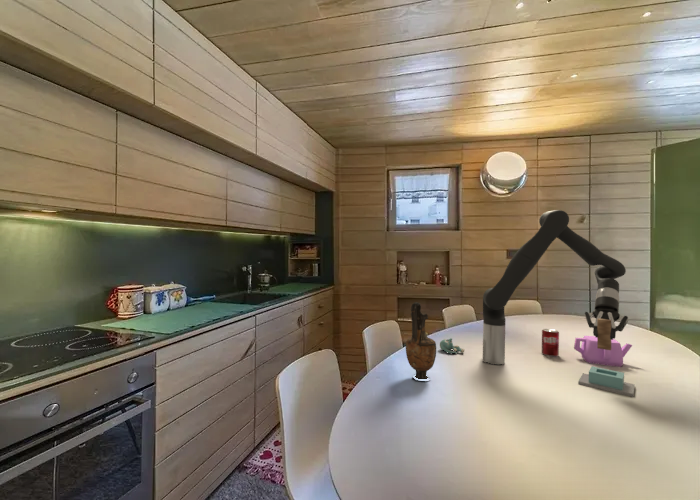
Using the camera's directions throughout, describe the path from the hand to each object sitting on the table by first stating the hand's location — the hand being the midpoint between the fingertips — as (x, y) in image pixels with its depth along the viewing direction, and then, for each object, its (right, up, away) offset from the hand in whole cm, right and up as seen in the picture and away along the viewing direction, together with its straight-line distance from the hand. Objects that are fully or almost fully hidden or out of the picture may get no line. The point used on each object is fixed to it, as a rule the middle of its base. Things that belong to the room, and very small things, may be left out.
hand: (604, 337), depth 124 cm
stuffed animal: (-45, -18, +40) cm, 63 cm away
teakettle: (+23, -19, +31) cm, 43 cm away
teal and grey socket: (+2, -19, +1) cm, 19 cm away
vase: (-68, -17, +4) cm, 71 cm away
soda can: (+3, -19, +39) cm, 43 cm away
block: (+1, -5, +1) cm, 5 cm away
